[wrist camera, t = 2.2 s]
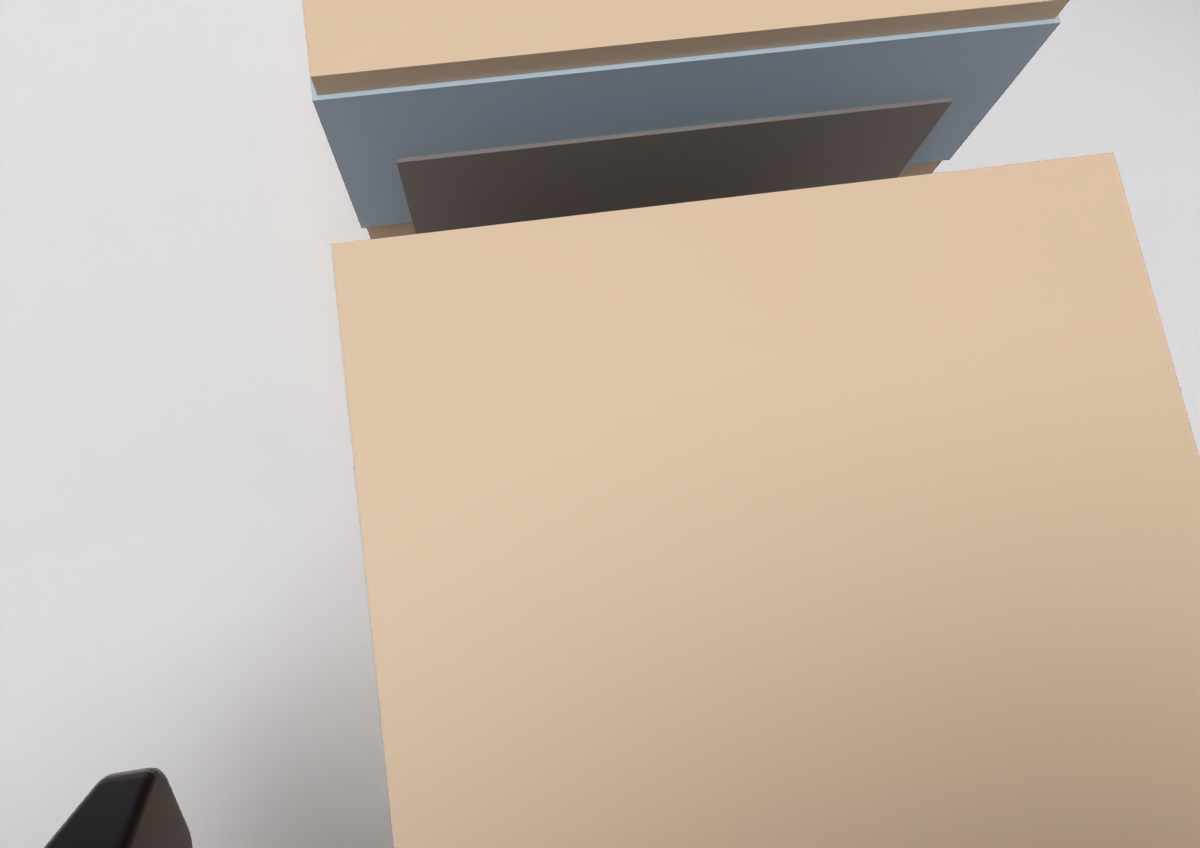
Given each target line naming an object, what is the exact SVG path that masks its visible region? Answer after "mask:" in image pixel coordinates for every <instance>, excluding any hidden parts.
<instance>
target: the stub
mask: <svg viewBox="0 0 1200 848" xmlns="http://www.w3.org/2000/svg"><path fill="white" fill-rule="evenodd" d="M331 247H332V260H333V270H334V279H335V289H336V298H337V308H338V318H339V327H340V337H341V346H342V356H343V365H344V375H345V385H346V394H347V404H348V413H349V423H350V432H351V442H352V452H353V461H354V471H355V480H356V490H357V500H358V509H359V519H360V528H361V538H362V548H363V557H364V567H365V576H366V586H367V595H368V605H369V615H370V624H371V634H372V643H373V653H374V663H375V672H376V682H377V691H378V701H379V710H380V720H381V730H382V739H383V749H384V758H385V768H386V778H387V787H388V797H389V806H390V816H391V826H392V835H393V845H394V848H1200V458H1199V454H1198V450H1197V447H1196V443H1195V440H1194V436H1193V433H1192V429H1191V426H1190V422H1189V419H1188V415H1187V411H1186V408H1185V404H1184V401H1183V397H1182V394H1181V390H1180V387H1179V383H1178V380H1177V376H1176V373H1175V369H1174V365H1173V362H1172V358H1171V355H1170V351H1169V348H1168V344H1167V341H1166V337H1165V334H1164V330H1163V327H1162V323H1161V319H1160V316H1159V312H1158V309H1157V305H1156V302H1155V298H1154V295H1153V291H1152V288H1151V284H1150V280H1149V277H1148V273H1147V270H1146V266H1145V263H1144V259H1143V256H1142V252H1141V249H1140V245H1139V242H1138V238H1137V234H1136V231H1135V227H1134V224H1133V220H1132V217H1131V213H1130V210H1129V206H1128V203H1127V199H1126V195H1125V192H1124V188H1123V185H1122V181H1121V178H1120V174H1119V171H1118V167H1117V164H1116V160H1115V157H1114V153H1113V152H1112V153H1104V154H1095V155H1086V156H1078V157H1069V158H1061V159H1052V160H1044V161H1035V162H1027V163H1018V164H1010V165H1001V166H993V167H984V168H976V169H967V170H959V171H950V172H941V173H933V174H924V175H916V176H907V177H899V178H890V179H882V180H873V181H865V182H856V183H848V184H839V185H831V186H822V187H814V188H805V189H796V190H788V191H779V192H771V193H762V194H754V195H745V196H737V197H728V198H720V199H711V200H703V201H694V202H686V203H677V204H668V205H660V206H651V207H643V208H634V209H626V210H617V211H609V212H600V213H592V214H583V215H575V216H566V217H558V218H549V219H541V220H532V221H523V222H515V223H506V224H498V225H489V226H481V227H472V228H464V229H455V230H447V231H438V232H430V233H421V234H413V235H404V236H395V237H387V238H378V239H370V240H361V241H353V242H344V243H336V244H331Z"/></svg>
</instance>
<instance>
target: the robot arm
mask: <svg viewBox="0 0 1200 848" xmlns="http://www.w3.org/2000/svg"><path fill="white" fill-rule="evenodd" d="M44 848H192V840H191V835H190V832H189V829H188V826H187V824H186V822H185V819H184V817H183V815H182V812H181V810H180V808H179V805H178V803H177V801H176V798H175V796H174V794H173V791H172V789H171V787H170V784H169V782H168V780H167V778H166V776H165V775H164V773H163V772H162V771H161V770H159V769H157V768H145V769H139V770H132V771H126V772H120V773H114V774H110V775H108V776H106V777H104V778H103V779H102V780H101V781H99V782H98V783H97V784H96V785H95V787H94V788H93V789H92V790H91V791H90V793H89V794H88V795H87V796H86V797H85V799H84V800H83V801H82V802H81V804H80V805H79V806H78V807H77V808H76V810H75V811H74V812H73V813H72V814H71V816H70V817H69V818H68V819H67V821H66V822H65V823H64V824H63V825H62V827H61V828H60V829H59V830H58V831H57V833H56V834H55V835H54V836H53V837H52V839H51V840H50V841H49V842H48V844H47V845H46V846H45V847H44Z"/></svg>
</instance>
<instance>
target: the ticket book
mask: <svg viewBox="0 0 1200 848" xmlns="http://www.w3.org/2000/svg"><path fill="white" fill-rule="evenodd" d="M1068 1H1069V0H302V3H303V12H304V22H305V32H306V41H307V51H308V60H309V70H310V80H311V89H312V99H313V103H314V105H315V108H316V111H317V113H318V116H319V118H320V121H321V124H322V126H323V129H324V131H325V134H326V137H327V139H328V142H329V144H330V147H331V150H332V152H333V155H334V157H335V160H336V163H337V165H338V168H339V170H340V173H341V176H342V178H343V181H344V183H345V186H346V189H347V191H348V194H349V196H350V199H351V201H352V204H353V207H354V209H355V212H356V214H357V217H358V220H359V222H360V225H361V227H362V228H365V227H367V229H368V232H369V235H370V238H371V239H378V238H387V237H395V236H404V235H413V234H421V233H430V232H438V231H447V230H455V229H464V228H472V227H481V226H489V225H498V224H506V223H515V222H523V221H532V220H541V219H549V218H558V217H566V216H575V215H583V214H592V213H600V212H609V211H617V210H626V209H634V208H643V207H651V206H660V205H668V204H677V203H686V202H694V201H703V200H711V199H720V198H728V197H737V196H745V195H754V194H762V193H771V192H779V191H788V190H796V189H805V188H814V187H822V186H831V185H839V184H848V183H856V182H865V181H873V180H882V179H890V178H899V177H907V176H916V175H924V174H931V173H932V172H933V171H934V170H935V168H936V167H937V166H938V165H939V163H940V162H941V161H942V160H950V158H951V157H952V156H953V155H954V153H955V152H956V151H957V150H958V148H959V147H960V146H961V145H962V144H963V142H964V141H965V140H966V139H967V137H968V136H969V135H970V134H971V132H972V131H973V130H974V129H975V127H976V126H977V125H978V124H979V123H980V121H981V120H982V119H983V118H984V116H985V115H986V114H987V113H988V111H989V110H990V109H991V108H992V106H993V105H994V104H995V103H996V102H997V100H998V99H999V98H1000V97H1001V95H1002V94H1003V93H1004V92H1005V90H1006V89H1007V88H1008V87H1009V85H1010V84H1011V83H1012V82H1013V81H1014V79H1015V78H1016V77H1017V76H1018V74H1019V73H1020V72H1021V71H1022V69H1023V68H1024V67H1025V66H1026V64H1027V63H1028V62H1029V61H1030V59H1031V58H1032V57H1033V56H1034V55H1035V53H1036V52H1037V51H1038V50H1039V48H1040V47H1041V46H1042V45H1043V43H1044V42H1045V41H1046V40H1047V38H1048V37H1049V36H1050V35H1051V34H1052V32H1053V31H1054V30H1055V29H1056V27H1057V26H1058V25H1059V24H1060V19H1059V16H1058V14H1059V13H1060V11H1061V10H1062V9H1063V8H1064V6H1065V5H1066V4H1067V3H1068Z"/></svg>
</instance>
